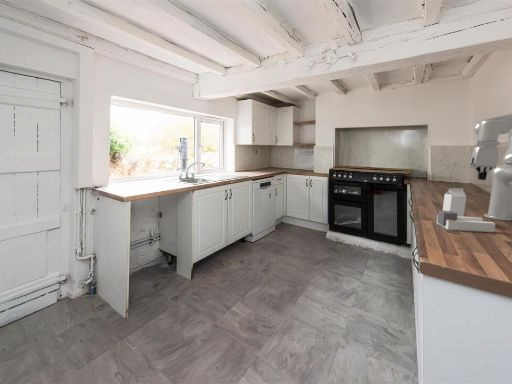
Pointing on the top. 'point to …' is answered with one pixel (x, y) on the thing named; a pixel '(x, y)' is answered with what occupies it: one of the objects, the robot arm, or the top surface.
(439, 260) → the top surface
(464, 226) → the chute
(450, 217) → the block
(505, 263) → the top surface
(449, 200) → the milk carton
